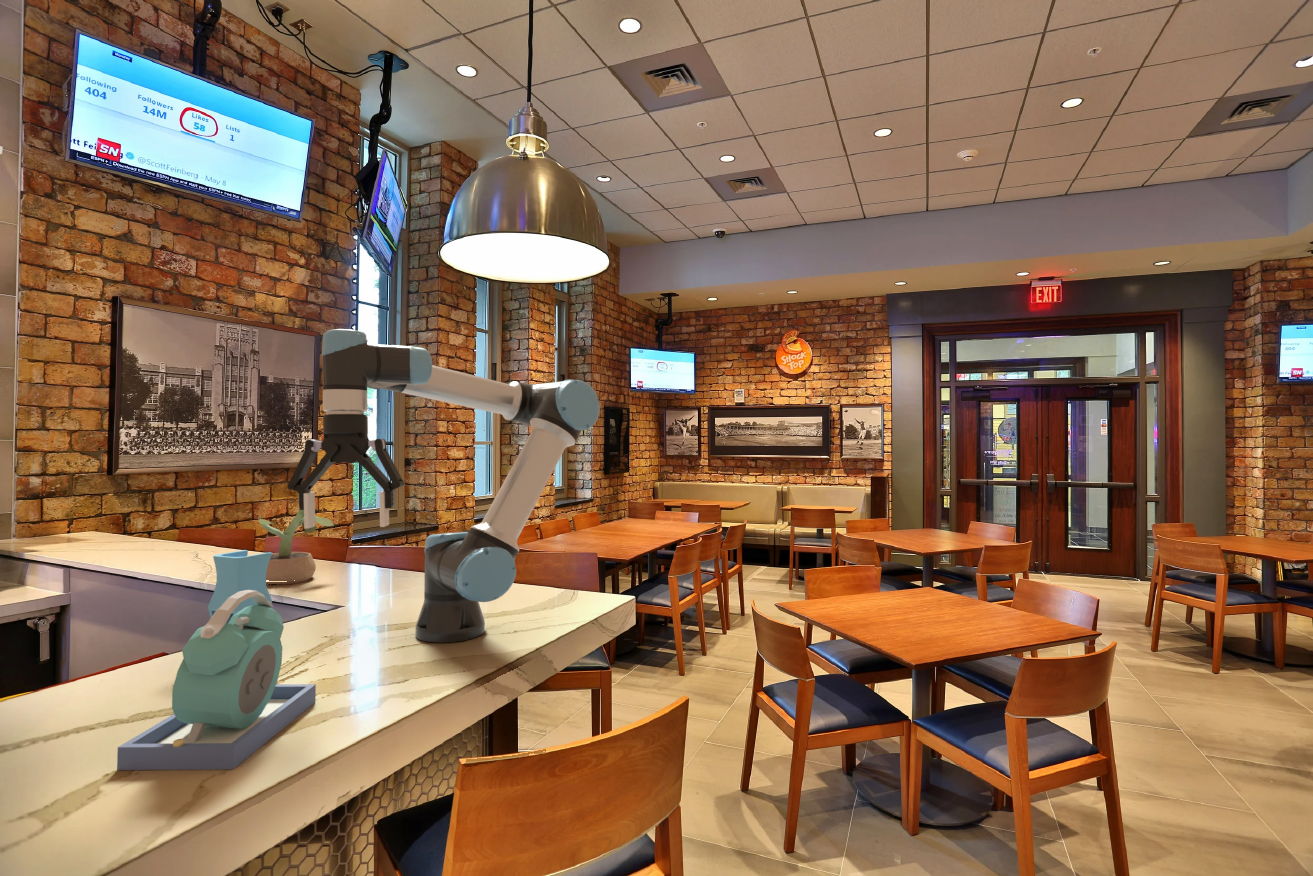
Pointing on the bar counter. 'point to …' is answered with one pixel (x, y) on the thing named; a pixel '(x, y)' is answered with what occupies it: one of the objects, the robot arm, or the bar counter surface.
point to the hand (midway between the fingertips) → (347, 526)
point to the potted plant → (291, 553)
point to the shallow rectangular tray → (214, 737)
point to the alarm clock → (229, 666)
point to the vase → (239, 578)
